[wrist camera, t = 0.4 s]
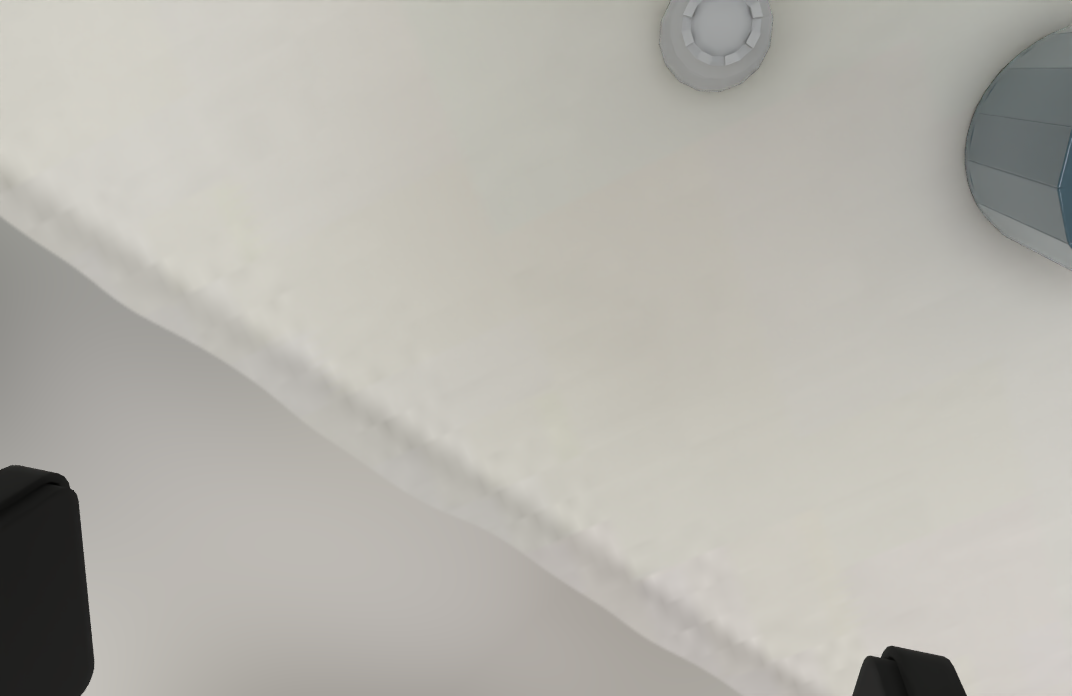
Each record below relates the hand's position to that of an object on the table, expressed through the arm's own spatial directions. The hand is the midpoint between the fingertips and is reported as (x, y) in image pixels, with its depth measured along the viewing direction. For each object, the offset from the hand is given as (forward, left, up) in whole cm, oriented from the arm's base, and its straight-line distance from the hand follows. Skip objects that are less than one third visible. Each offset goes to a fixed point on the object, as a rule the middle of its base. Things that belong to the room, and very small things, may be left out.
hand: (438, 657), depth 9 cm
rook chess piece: (-8, -3, -29) cm, 30 cm away
